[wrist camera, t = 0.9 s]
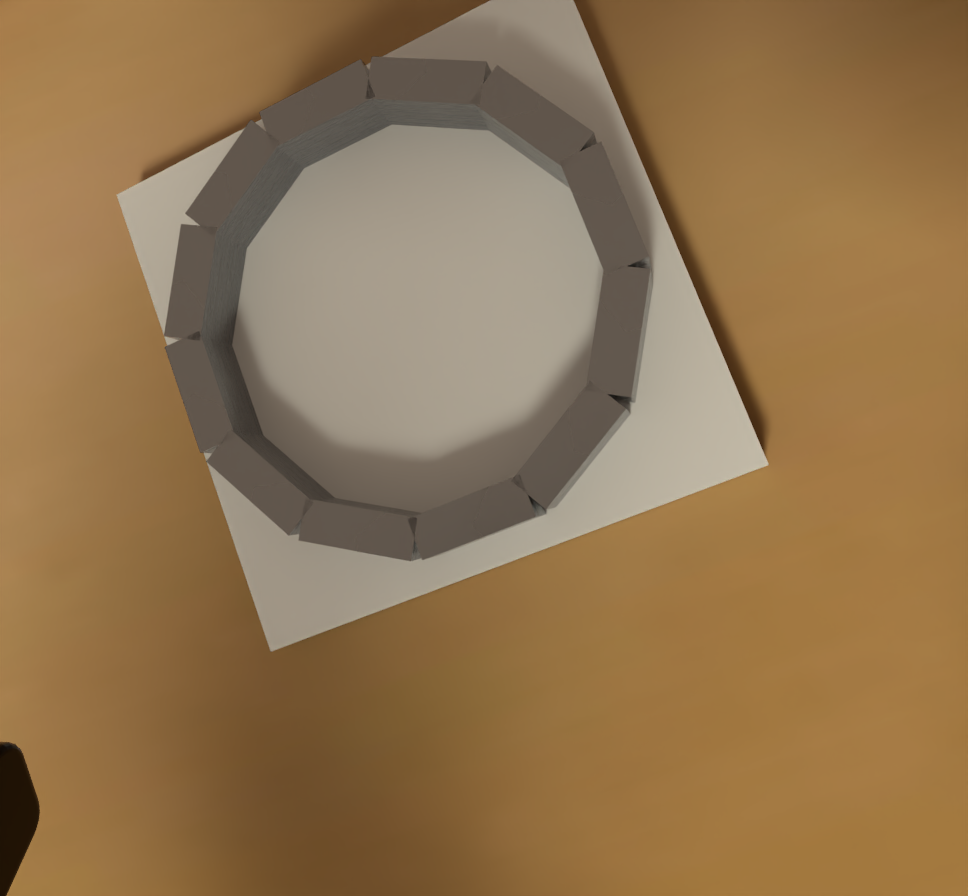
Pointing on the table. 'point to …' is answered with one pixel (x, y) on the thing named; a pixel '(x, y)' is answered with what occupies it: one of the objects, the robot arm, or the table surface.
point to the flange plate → (433, 320)
